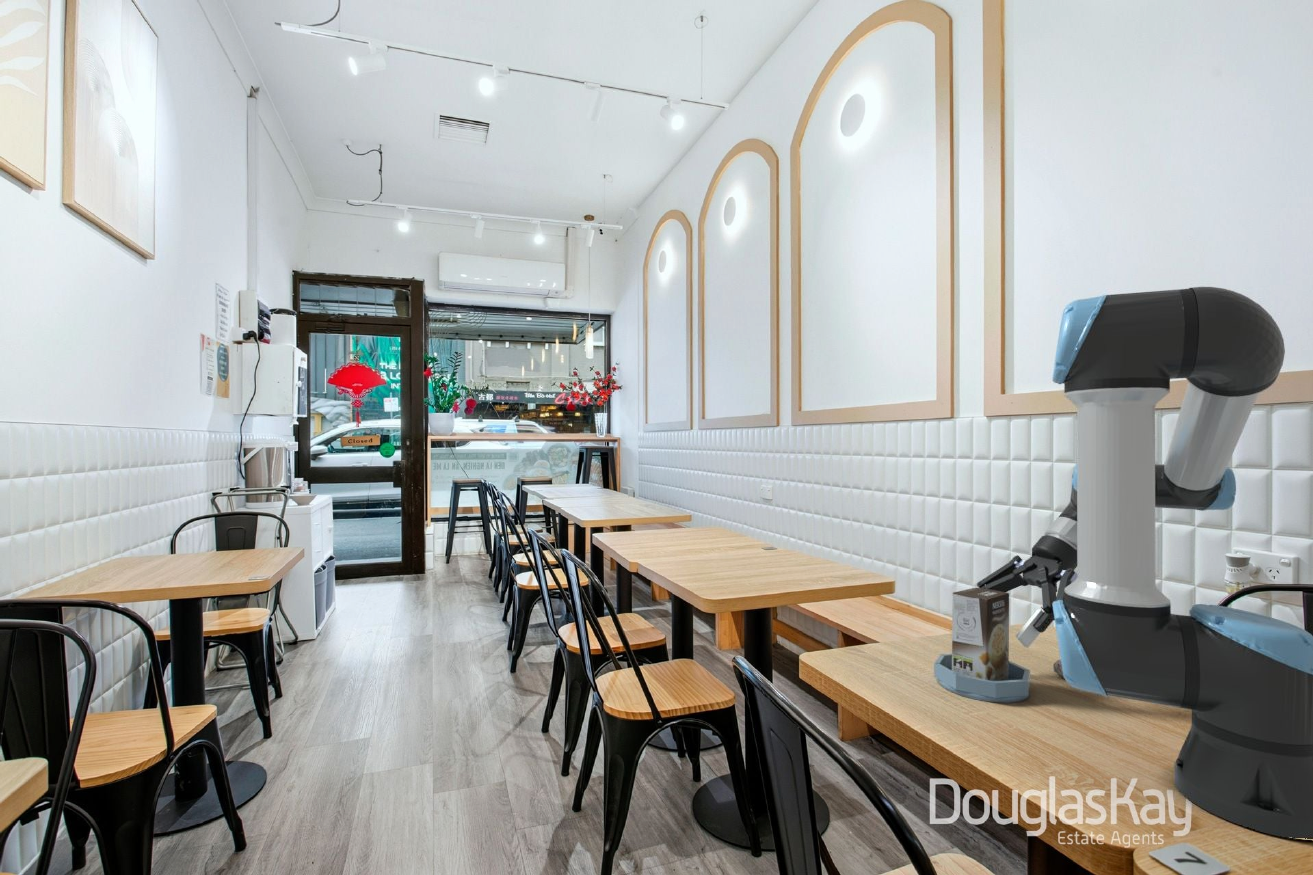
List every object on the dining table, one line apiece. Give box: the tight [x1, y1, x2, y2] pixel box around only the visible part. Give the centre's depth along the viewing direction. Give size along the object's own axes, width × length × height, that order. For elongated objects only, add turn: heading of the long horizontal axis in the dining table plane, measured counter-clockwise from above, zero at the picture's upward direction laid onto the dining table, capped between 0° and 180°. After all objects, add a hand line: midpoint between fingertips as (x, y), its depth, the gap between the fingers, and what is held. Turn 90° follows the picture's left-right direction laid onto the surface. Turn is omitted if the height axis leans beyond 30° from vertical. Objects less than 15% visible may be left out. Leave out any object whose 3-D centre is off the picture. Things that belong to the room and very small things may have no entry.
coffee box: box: [951, 587, 1010, 681], centre depth 115 cm, size 9×6×16 cm
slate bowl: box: [933, 653, 1031, 704], centre depth 115 cm, size 15×15×4 cm
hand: (993, 630), depth 116 cm, fingers open, 13 cm apart
